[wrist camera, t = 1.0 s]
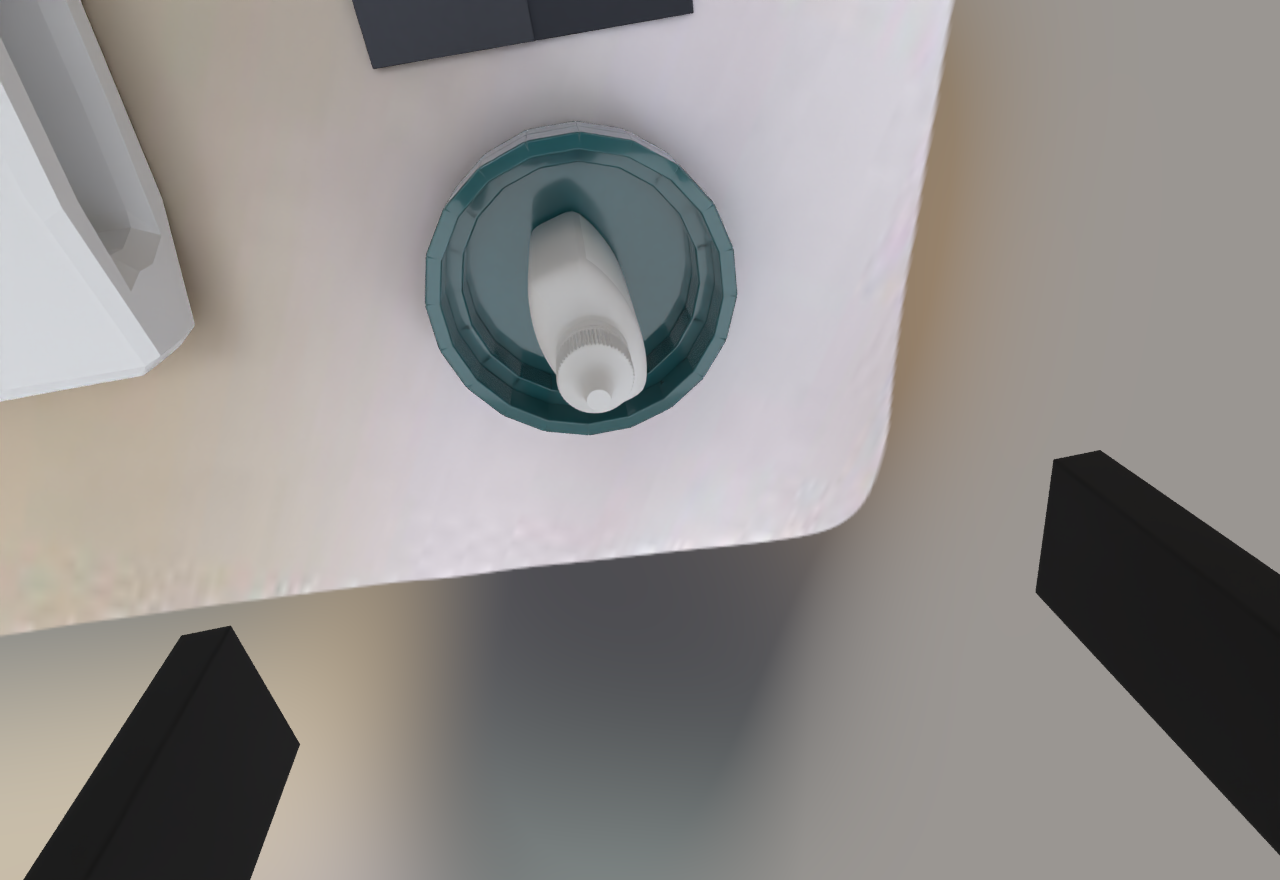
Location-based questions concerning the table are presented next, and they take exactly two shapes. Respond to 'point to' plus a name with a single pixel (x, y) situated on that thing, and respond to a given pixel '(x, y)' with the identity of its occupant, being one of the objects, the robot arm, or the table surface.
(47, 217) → the document scanner
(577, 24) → the napkin
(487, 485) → the table surface
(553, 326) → the eye dropper bottle
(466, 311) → the bowl
